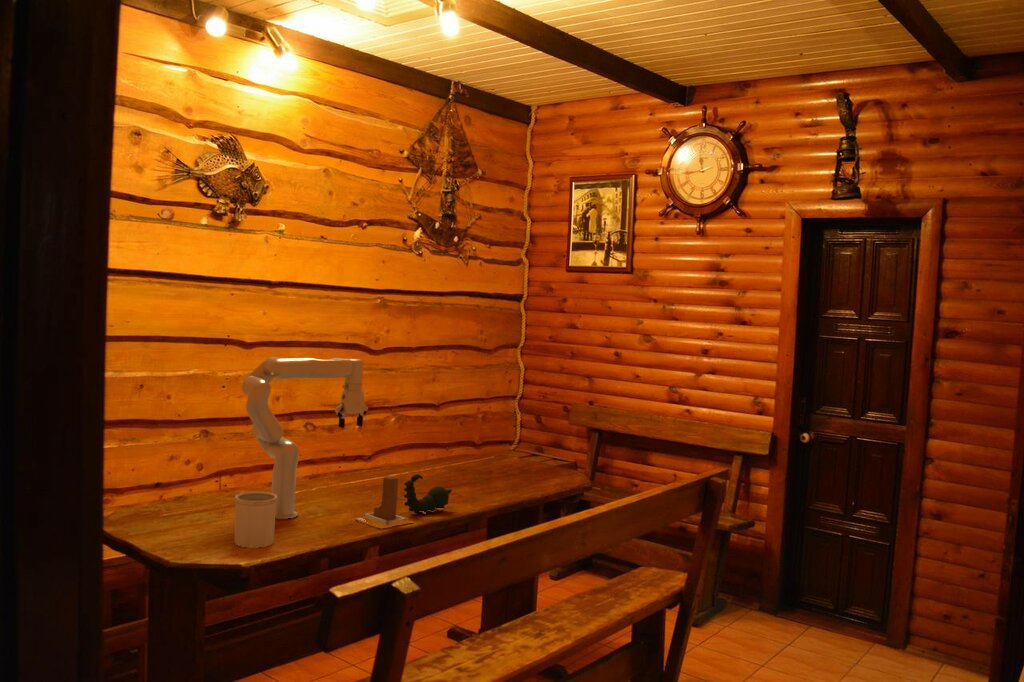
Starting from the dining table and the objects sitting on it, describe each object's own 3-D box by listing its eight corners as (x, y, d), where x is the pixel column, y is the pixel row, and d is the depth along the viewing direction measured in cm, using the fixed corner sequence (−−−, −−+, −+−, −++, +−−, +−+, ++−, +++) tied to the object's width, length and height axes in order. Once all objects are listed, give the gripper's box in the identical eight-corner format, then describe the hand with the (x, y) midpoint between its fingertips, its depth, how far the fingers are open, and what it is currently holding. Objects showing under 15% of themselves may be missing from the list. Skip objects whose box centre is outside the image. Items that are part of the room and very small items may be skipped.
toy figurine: (413, 522, 362) (458, 510, 379) (412, 478, 361) (458, 468, 377) (400, 517, 369) (445, 505, 386) (399, 474, 367) (445, 464, 384)
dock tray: (380, 529, 341) (380, 523, 341) (355, 520, 351) (355, 514, 351) (413, 523, 354) (414, 517, 354) (388, 514, 365) (389, 509, 365)
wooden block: (373, 518, 354) (375, 475, 353) (381, 516, 358) (383, 474, 357) (387, 522, 348) (390, 479, 348) (395, 521, 352) (398, 478, 351)
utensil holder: (257, 551, 302) (260, 502, 301) (223, 544, 307) (226, 496, 306) (282, 541, 315) (285, 495, 315) (250, 535, 321) (252, 489, 320)
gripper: (342, 388, 357) (339, 429, 358) (374, 387, 370) (371, 426, 371) (331, 386, 362) (328, 426, 363) (363, 385, 375) (360, 424, 376)
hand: (350, 426), depth 367 cm, fingers open, 9 cm apart
